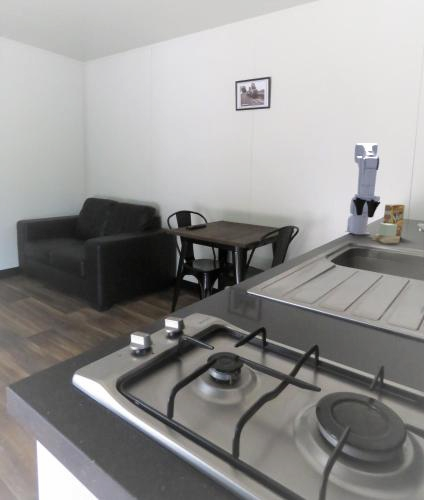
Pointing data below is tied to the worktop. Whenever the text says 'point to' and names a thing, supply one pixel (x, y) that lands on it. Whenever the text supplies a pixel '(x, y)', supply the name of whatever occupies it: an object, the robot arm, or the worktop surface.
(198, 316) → the worktop surface
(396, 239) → the beech block
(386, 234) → the sage cube
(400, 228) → the candy box
